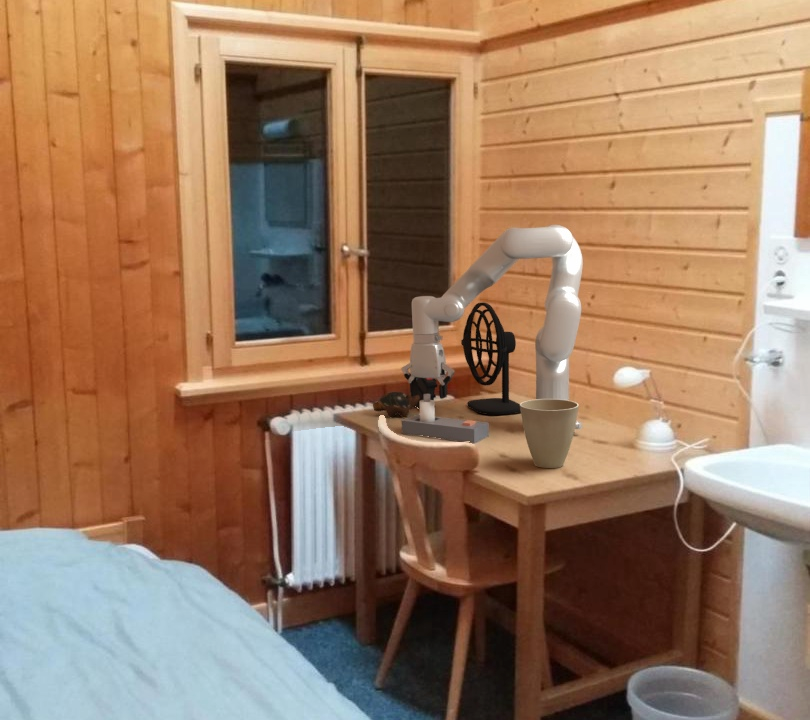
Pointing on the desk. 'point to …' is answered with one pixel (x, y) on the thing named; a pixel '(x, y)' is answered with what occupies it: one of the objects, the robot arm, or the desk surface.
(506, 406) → the desk fan
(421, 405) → the white bottle
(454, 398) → the desk surface
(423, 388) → the black blocky piece
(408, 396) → the decorative turtle
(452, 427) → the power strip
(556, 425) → the plant pot
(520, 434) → the desk surface
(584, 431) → the desk surface
